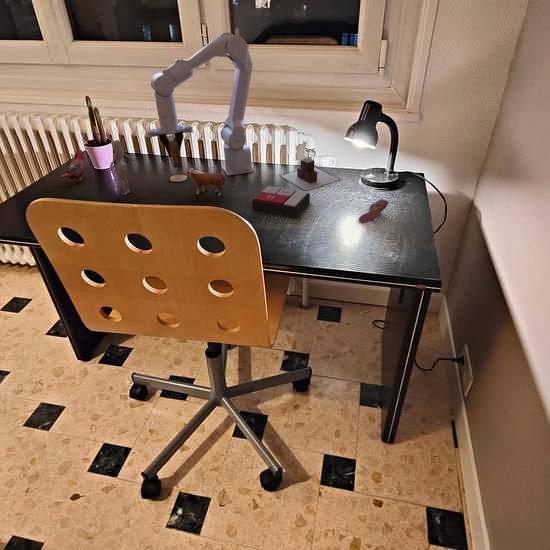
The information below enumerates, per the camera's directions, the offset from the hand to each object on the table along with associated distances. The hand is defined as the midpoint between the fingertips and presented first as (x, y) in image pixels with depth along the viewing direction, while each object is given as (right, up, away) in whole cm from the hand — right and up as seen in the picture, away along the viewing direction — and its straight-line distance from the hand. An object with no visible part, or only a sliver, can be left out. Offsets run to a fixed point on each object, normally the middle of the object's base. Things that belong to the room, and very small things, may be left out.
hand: (174, 155), depth 143 cm
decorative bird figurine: (-35, -8, +5) cm, 37 cm away
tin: (0, -2, +1) cm, 3 cm away
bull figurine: (+11, -13, -2) cm, 18 cm away
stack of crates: (+47, -6, +6) cm, 48 cm away
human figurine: (-15, -14, -2) cm, 20 cm away
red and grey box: (+36, -19, -11) cm, 42 cm away
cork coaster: (0, -6, +7) cm, 10 cm away
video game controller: (+64, -24, -18) cm, 70 cm away
